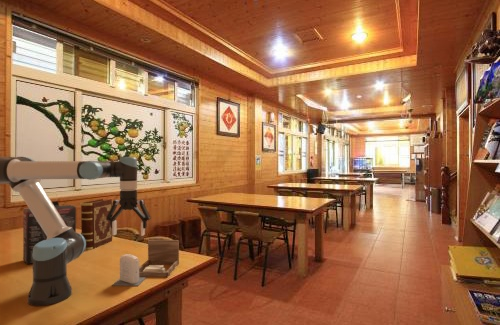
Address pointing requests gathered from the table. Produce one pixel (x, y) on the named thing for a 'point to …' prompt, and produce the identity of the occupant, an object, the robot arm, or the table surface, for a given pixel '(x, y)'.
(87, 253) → the table surface
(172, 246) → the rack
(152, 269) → the offcut stack
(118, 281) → the mat
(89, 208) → the decorative book
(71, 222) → the headset box
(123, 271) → the photo printer
